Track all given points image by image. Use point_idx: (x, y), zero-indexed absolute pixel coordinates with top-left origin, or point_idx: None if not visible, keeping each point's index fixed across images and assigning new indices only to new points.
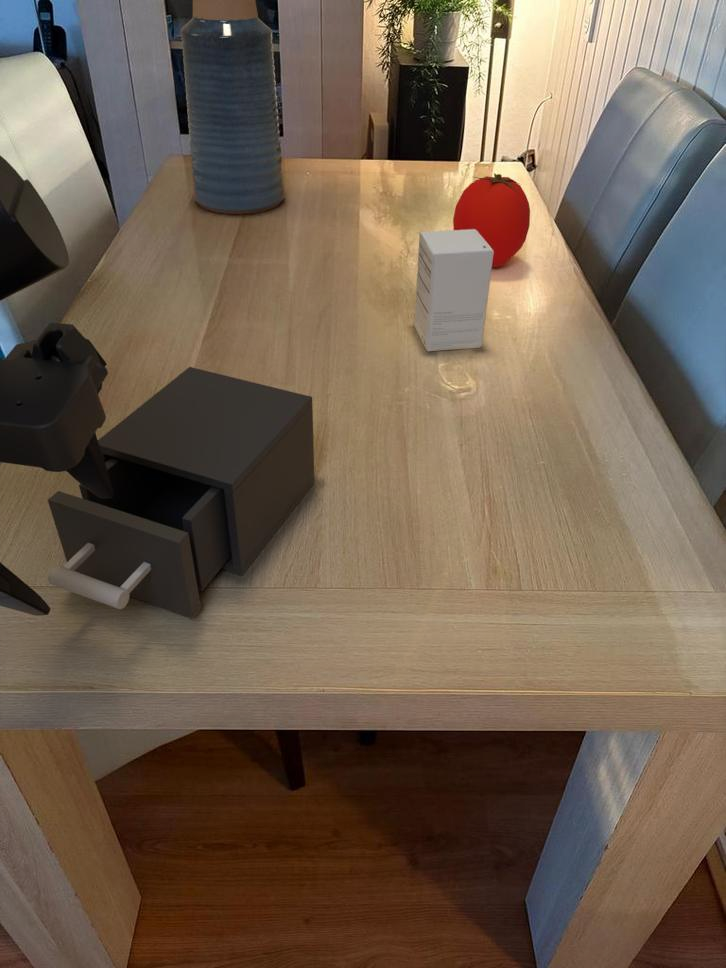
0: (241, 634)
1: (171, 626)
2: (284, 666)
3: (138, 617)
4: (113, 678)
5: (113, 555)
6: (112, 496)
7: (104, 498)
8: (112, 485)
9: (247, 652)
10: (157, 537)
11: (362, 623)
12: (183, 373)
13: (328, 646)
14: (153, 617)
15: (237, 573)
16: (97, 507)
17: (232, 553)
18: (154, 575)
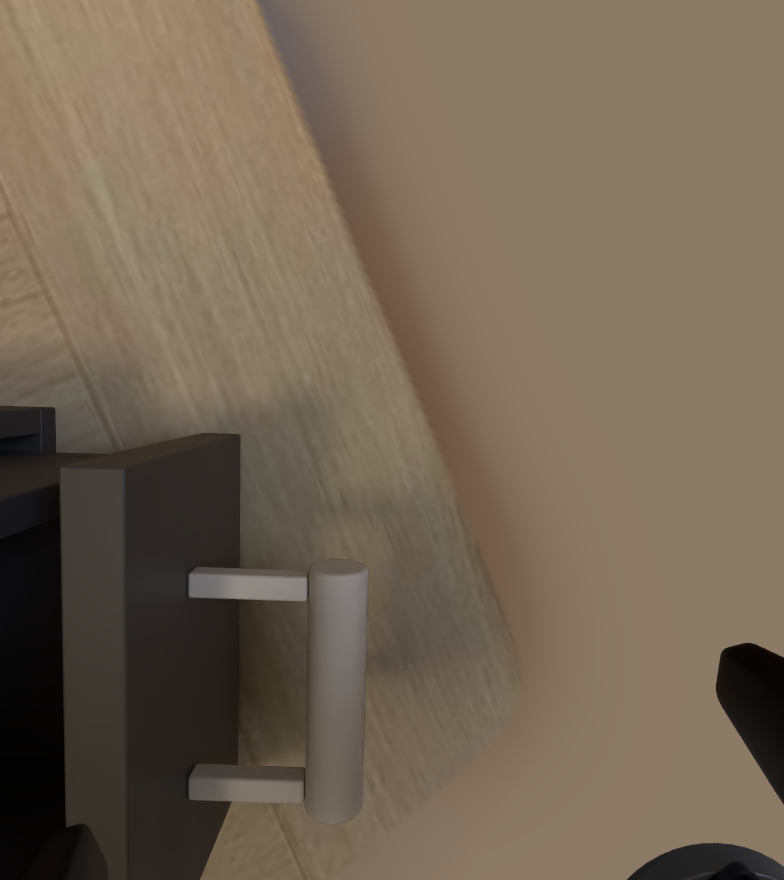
0: (221, 316)
1: (266, 482)
2: (265, 175)
3: (273, 568)
4: (441, 518)
5: (194, 702)
6: (80, 825)
7: (102, 854)
8: (19, 875)
9: (263, 277)
10: (129, 563)
11: (69, 49)
12: None
13: (170, 101)
14: (259, 536)
15: (53, 421)
16: None
17: (10, 434)
18: (202, 555)
